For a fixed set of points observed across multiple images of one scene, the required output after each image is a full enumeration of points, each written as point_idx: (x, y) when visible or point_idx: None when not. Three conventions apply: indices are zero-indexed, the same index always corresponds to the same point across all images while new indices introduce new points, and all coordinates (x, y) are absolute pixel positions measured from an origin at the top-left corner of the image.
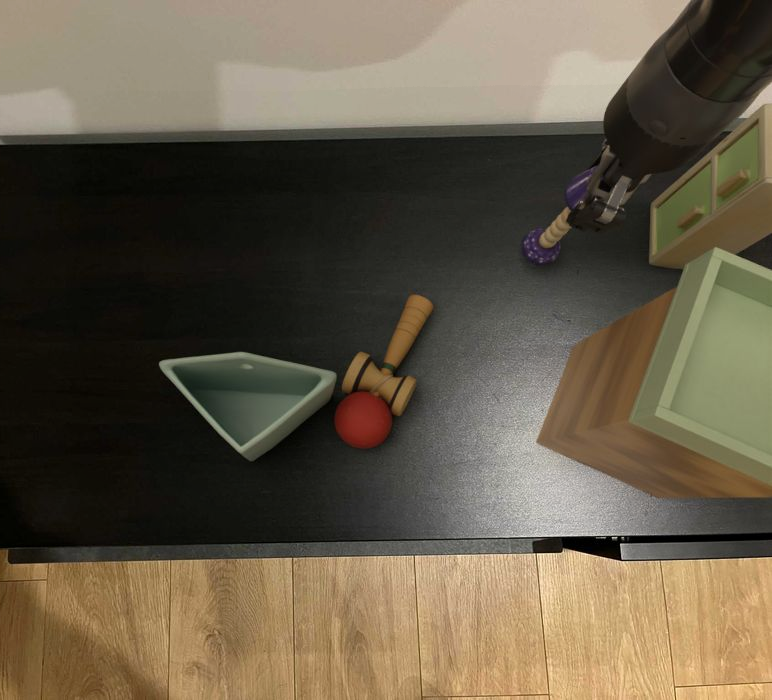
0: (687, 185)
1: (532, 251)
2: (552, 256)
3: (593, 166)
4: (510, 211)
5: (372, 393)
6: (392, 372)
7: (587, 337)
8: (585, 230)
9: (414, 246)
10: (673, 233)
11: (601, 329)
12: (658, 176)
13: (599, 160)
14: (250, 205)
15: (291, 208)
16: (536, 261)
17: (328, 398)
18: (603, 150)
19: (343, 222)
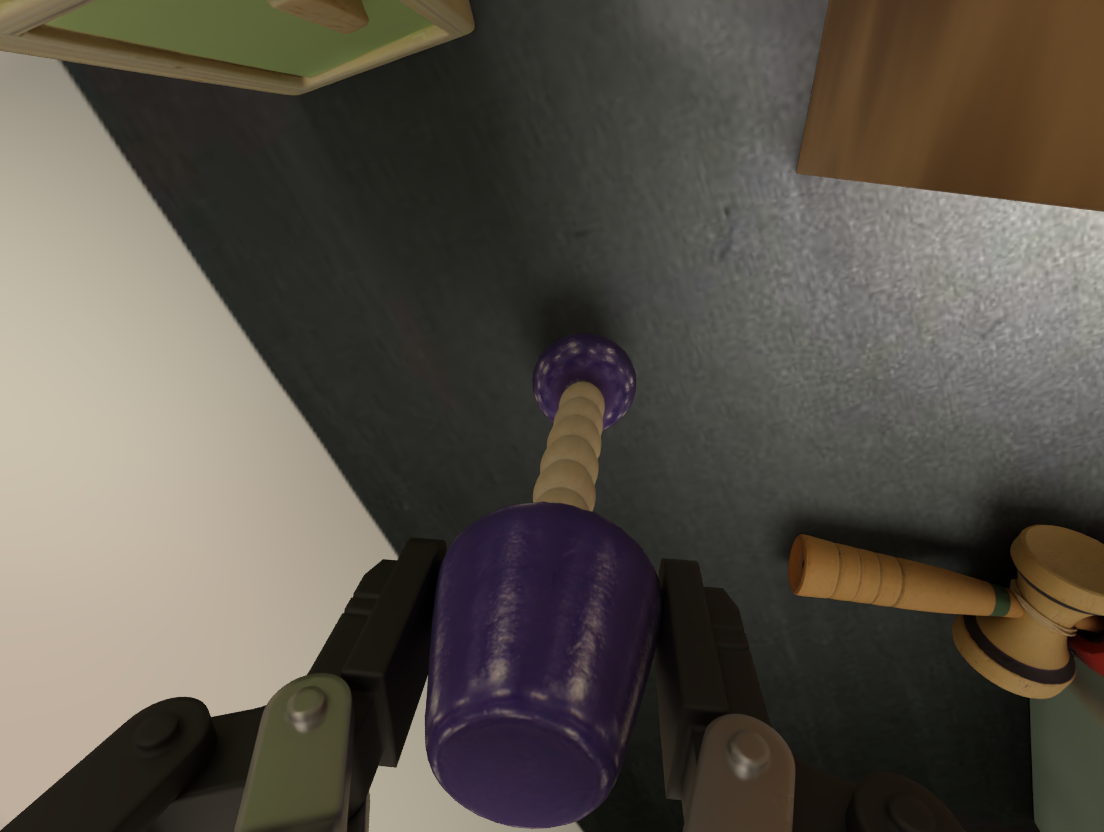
0: (197, 50)
1: (617, 415)
2: (610, 361)
3: (426, 669)
4: (497, 434)
5: (1079, 628)
6: (1009, 597)
7: (830, 177)
8: (739, 616)
9: None
10: (377, 12)
11: (873, 182)
12: (209, 101)
13: (407, 724)
14: (678, 808)
15: (660, 763)
16: (633, 389)
17: (1097, 694)
18: (369, 800)
19: (655, 695)
